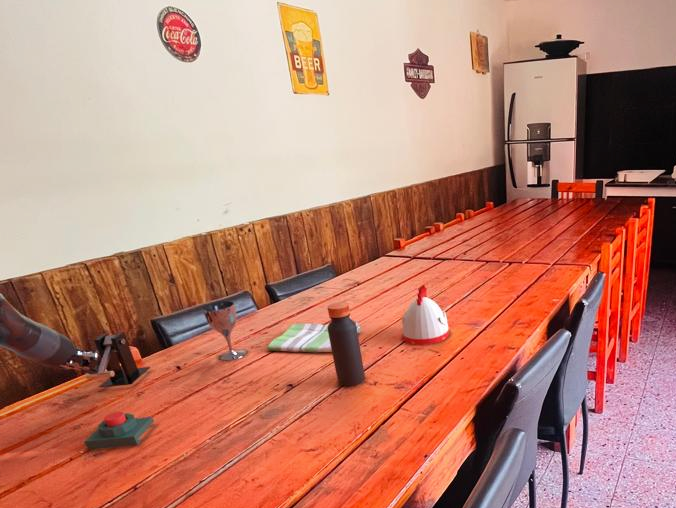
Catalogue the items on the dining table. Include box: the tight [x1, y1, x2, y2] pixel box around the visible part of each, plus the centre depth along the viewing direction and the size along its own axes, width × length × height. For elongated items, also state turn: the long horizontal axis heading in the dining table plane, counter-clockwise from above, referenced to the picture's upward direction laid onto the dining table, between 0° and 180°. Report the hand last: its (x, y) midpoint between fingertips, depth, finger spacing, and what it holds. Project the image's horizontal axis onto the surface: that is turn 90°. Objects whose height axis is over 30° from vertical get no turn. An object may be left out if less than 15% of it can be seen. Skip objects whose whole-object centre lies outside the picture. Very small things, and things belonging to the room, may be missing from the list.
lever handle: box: [85, 334, 116, 380], centre depth 129 cm, size 12×6×2 cm
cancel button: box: [103, 411, 126, 427], centre depth 108 cm, size 4×4×2 cm
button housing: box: [83, 413, 155, 451], centre depth 109 cm, size 10×8×4 cm
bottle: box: [327, 301, 366, 387], centre depth 124 cm, size 7×7×20 cm
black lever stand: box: [93, 331, 150, 388], centre depth 133 cm, size 10×8×13 cm
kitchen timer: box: [401, 284, 450, 346], centre depth 150 cm, size 14×14×15 cm
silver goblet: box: [202, 300, 247, 361], centre depth 144 cm, size 8×8×15 cm
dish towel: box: [266, 321, 362, 353], centre depth 153 cm, size 17×23×4 cm
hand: (95, 370), depth 124 cm, fingers closed
